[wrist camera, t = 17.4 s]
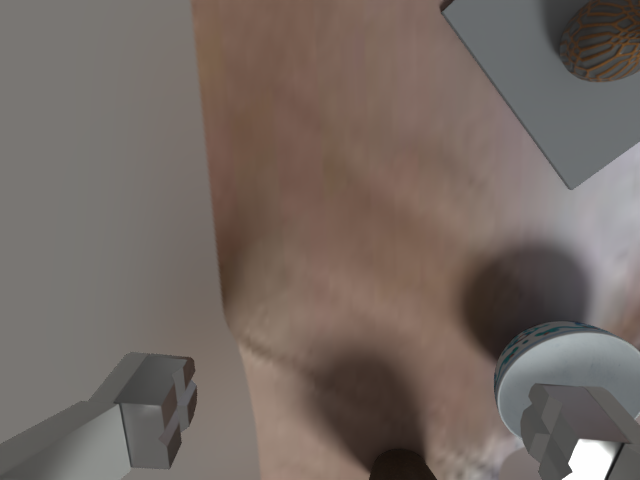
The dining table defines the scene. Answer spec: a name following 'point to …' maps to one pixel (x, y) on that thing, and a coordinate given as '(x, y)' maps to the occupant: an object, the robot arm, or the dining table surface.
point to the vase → (603, 41)
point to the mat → (549, 83)
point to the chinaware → (565, 366)
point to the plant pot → (400, 467)
